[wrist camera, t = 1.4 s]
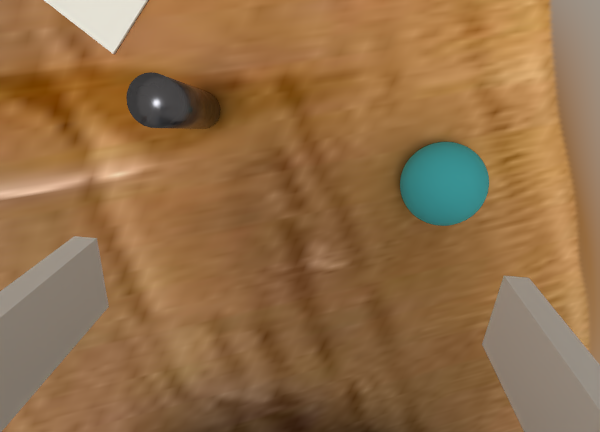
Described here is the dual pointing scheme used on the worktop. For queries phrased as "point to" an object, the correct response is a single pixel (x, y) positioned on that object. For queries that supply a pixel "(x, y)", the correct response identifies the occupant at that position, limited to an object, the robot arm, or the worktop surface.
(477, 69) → the worktop surface
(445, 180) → the ball
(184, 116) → the gate post
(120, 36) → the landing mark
